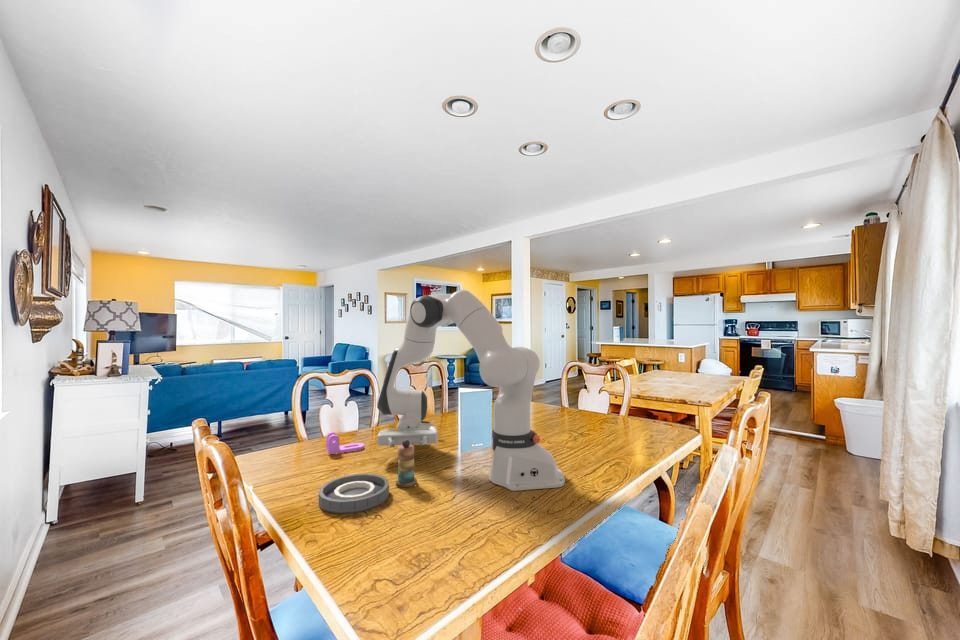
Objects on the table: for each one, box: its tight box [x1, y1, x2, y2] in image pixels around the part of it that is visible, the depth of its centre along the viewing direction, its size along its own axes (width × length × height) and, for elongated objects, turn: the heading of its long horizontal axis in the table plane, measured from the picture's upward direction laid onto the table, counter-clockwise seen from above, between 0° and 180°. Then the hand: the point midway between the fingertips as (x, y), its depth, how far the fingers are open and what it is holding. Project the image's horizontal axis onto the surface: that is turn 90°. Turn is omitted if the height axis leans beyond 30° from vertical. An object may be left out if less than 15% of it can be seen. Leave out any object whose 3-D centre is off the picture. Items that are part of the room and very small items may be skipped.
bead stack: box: [395, 440, 418, 489], centre depth 115 cm, size 6×6×13 cm
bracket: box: [325, 431, 365, 455], centre depth 146 cm, size 13×6×7 cm, turn 119°
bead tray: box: [318, 473, 390, 515], centre depth 106 cm, size 18×18×3 cm
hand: (407, 444), depth 127 cm, fingers open, 8 cm apart
